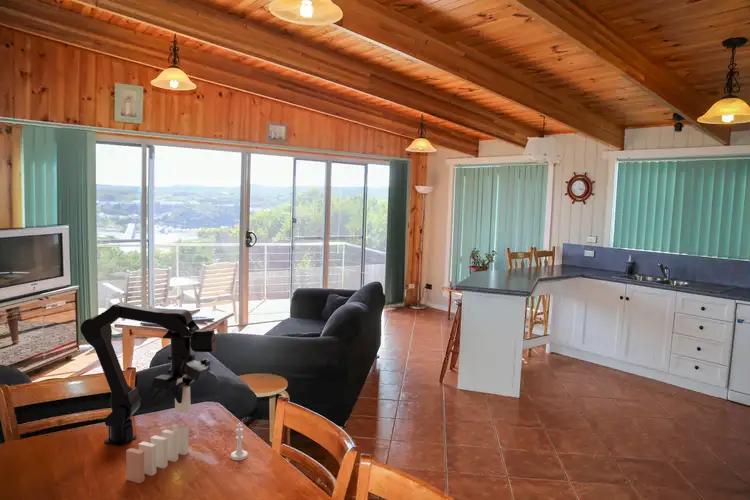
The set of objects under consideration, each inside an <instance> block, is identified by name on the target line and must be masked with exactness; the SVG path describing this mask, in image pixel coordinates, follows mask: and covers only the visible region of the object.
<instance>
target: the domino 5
mask: <svg viewBox="0 0 750 500" xmlns="http://www.w3.org/2000/svg"><path fill="white" fill-rule="evenodd" d="M191 407H192V406H191V386H186V385H184V386H183V388H182V403H178V402H177V400H176V399H175V398H174V412H178V413H182V414H189V413H191V409H192V408H191Z"/></svg>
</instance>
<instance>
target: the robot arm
mask: <svg viewBox="0 0 750 500" xmlns="http://www.w3.org/2000/svg"><path fill="white" fill-rule="evenodd" d="M119 319H123V320H124V319H125V320H128V321H129V320H130V321H137V322H142V323H148V324H153V325H158V326H159V327H161V328H163V329H164V330H168V331H167V332H166V333H165V334H164V335H162V338H163V339H169V340H170V354H169V355H168V356H167V360H168V361H169V360H170V368H169V369H168V370H167V373H168V374H160V375H157V376H155V377H153V379H151V388H154V389H161V390H165V391H166V390H170V392H171V393H172V395H173V396H174V400H175V399H176V400H177V402H178V403H182V388H183V386H184V385H186V386H190V387H191V386H192V384H193V382H195V381H200V380H201V379H202V378H205V377H206V376H207V373H208V372H209V371H211V362H210V361H211V360H209V359H208V358H203V359H202V360H196V357H195V354H193V353H192V352H195V353H215V352H216V350H217V345H218V338H217V335H216V333H215V329H214V328H213V329H201V328H200V326H199V325H197V323H196V322H195V320H193V316H192V313H191V311H189V310H188V309H183V308H182V309H177V308H176V309H175V308H174V309H158V308H150V307H146V306H145V307H144V306H140V305H134V304H127V303H125V302H117V303H115V304H112V305H111V306H110V307H108V309H107V310H105V311H103V312H102V313H100V314H98V315H97V314H96V315H94V316H91V317H90V318H88V319H85V320H83V322H82V323H81V324H80V333H81V334H82V336H83V338H84V340H85V341H86V343H87V344H89V345H90V346H91V347H93V349H94V351H95V353H96V356H97V358H98V361H99V364H100V366H101V368H102V372H103V374H104V377H105V379H106V382H107V385H108V387H109V390H110V393H111V394H110V395H111V396H110V408H111V412H110V413H109V414H108V415H107V416H105V418H104V419H103V422H104V424H105V427H107V429H108V430H107V431H108V438H107V439H105V440H104V443H107V444H110V445H113V446H114V445H115V446H119V447H120V446H122V445H124V444H126V443H128V442H130V441H133V440H134V439H136V438H137V435H134V426H133V419H131V417H133V416H134V415H135V413H136V411H138V410H139V408H140V406H141V400H142V397H141V396H140V394H139V389H138V387H134V388H132V387H131V386H130V385H129V384H128V382H127V379H126V377H125V374H124V372H123V370H122V367H121V364H120V361H119V358H118V355H117V354H116V351H115V348H114V345H113V343H112V335H113V331H112V324H113V323H114V322H116V321H118V320H119ZM170 374H171V375H170Z"/></svg>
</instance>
